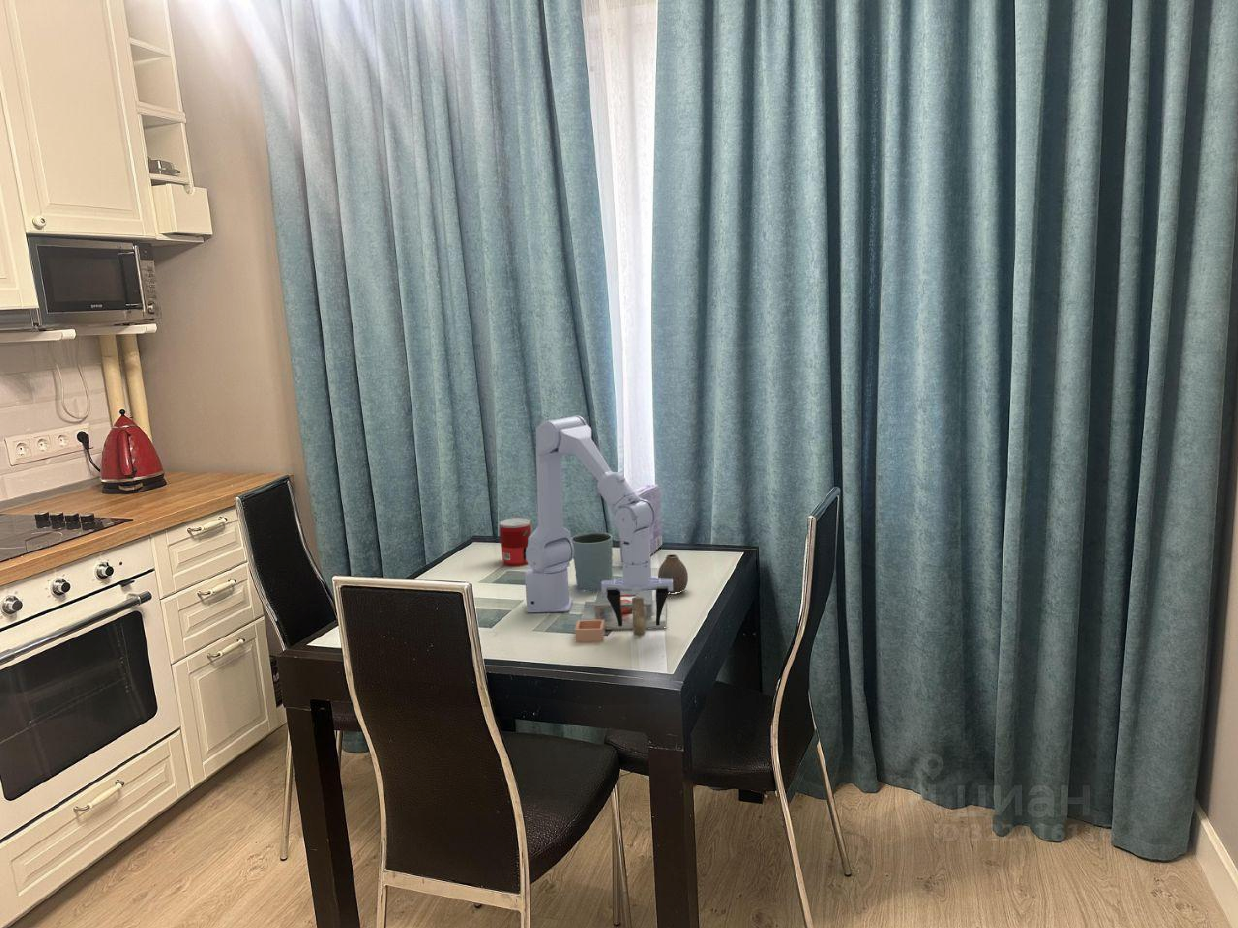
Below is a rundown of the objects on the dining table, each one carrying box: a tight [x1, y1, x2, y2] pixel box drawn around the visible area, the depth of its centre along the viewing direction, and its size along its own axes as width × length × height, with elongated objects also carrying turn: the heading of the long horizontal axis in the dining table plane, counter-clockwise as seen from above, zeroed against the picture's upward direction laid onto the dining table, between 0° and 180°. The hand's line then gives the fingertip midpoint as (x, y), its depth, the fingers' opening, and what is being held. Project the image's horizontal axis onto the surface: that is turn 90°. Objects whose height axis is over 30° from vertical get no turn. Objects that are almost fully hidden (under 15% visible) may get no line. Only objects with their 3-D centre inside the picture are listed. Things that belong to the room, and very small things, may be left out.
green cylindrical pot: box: [571, 531, 614, 592], centre depth 218 cm, size 10×10×12 cm
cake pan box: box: [618, 484, 664, 564], centre depth 240 cm, size 19×5×18 cm, turn 154°
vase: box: [657, 553, 689, 593], centre depth 211 cm, size 7×7×9 cm
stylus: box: [631, 597, 646, 637], centre depth 187 cm, size 2×2×8 cm
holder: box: [574, 619, 606, 643], centre depth 187 cm, size 6×6×2 cm
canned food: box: [499, 517, 532, 567], centre depth 240 cm, size 8×8×11 cm
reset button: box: [621, 599, 631, 614], centre depth 196 cm, size 3×3×2 cm
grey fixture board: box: [580, 590, 668, 631], centre depth 196 cm, size 18×13×4 cm
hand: (639, 624), depth 187 cm, fingers open, 7 cm apart
